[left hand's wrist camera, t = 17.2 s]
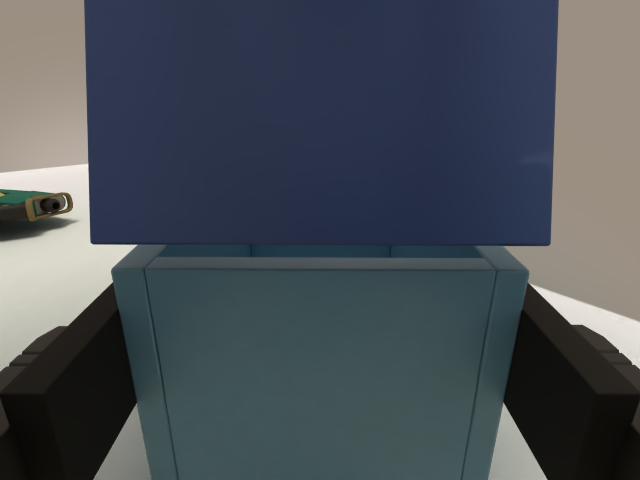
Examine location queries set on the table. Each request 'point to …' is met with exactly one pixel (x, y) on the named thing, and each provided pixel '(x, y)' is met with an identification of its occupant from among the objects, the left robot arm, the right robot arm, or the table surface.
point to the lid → (321, 122)
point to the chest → (319, 358)
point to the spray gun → (32, 204)
